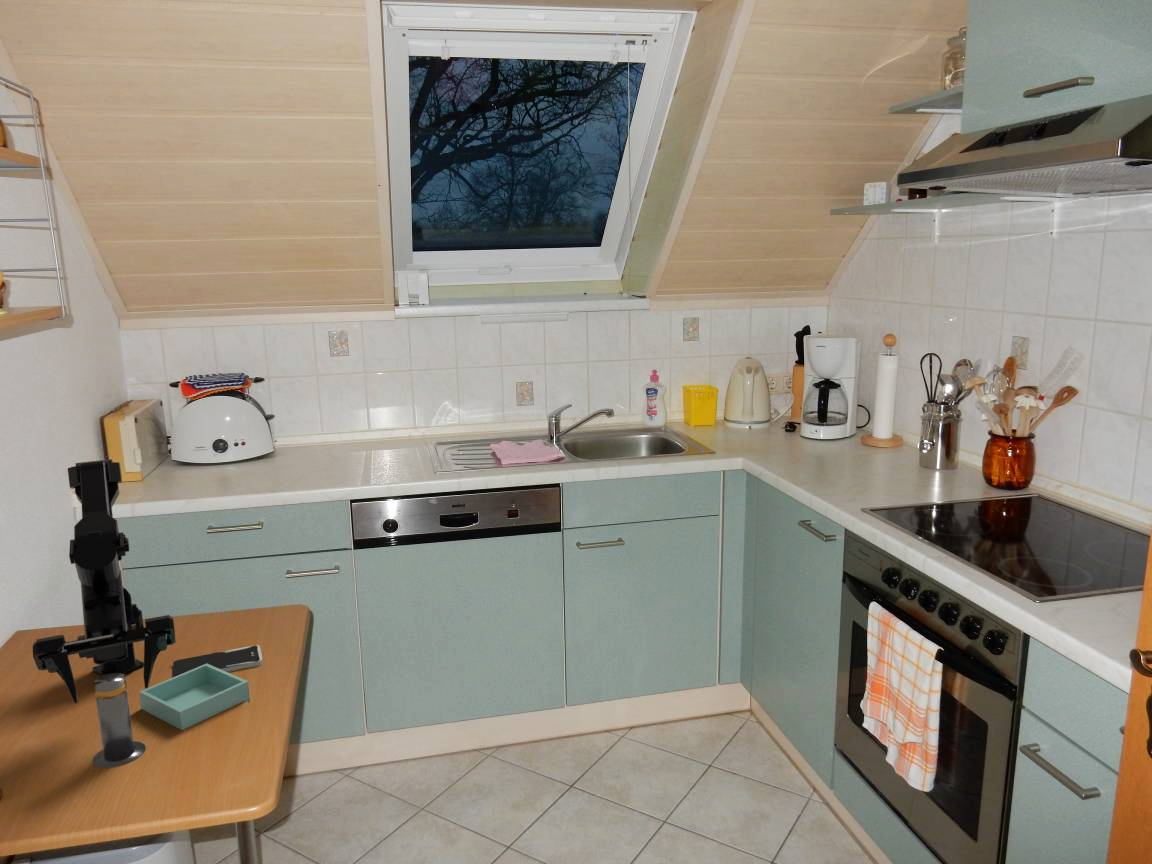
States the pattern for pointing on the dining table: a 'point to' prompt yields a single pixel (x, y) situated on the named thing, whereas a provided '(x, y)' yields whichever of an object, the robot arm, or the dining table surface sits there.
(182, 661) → the smartphone
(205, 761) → the dining table surface
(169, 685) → the bin
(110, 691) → the strut
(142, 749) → the dark metal disc
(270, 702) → the dining table surface
